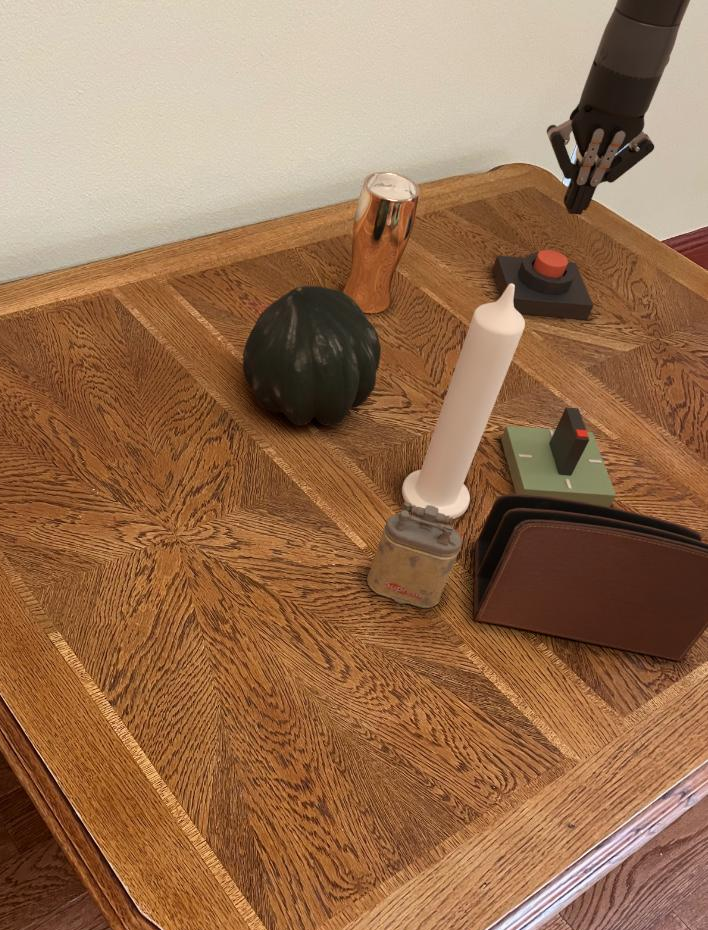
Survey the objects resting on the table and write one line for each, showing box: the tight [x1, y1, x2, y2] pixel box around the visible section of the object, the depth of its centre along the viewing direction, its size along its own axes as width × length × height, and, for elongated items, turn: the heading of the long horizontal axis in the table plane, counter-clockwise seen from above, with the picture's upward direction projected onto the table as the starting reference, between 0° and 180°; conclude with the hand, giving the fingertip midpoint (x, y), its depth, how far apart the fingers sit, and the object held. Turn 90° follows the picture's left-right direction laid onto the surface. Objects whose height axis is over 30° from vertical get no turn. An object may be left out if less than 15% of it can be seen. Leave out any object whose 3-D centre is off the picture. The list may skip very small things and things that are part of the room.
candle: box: [401, 283, 526, 520], centre depth 88 cm, size 7×7×25 cm
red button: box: [533, 249, 569, 278], centre depth 122 cm, size 4×4×2 cm
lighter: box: [366, 501, 463, 609], centre depth 85 cm, size 7×4×10 cm, turn 73°
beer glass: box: [342, 171, 421, 314], centre depth 114 cm, size 7×7×15 cm
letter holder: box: [473, 493, 708, 662], centre depth 85 cm, size 10×20×14 cm, turn 81°
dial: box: [549, 406, 589, 475], centre depth 99 cm, size 5×1×5 cm, turn 1°
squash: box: [242, 285, 382, 426], centre depth 101 cm, size 14×15×15 cm
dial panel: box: [500, 425, 617, 507], centre depth 102 cm, size 10×10×2 cm
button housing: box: [491, 252, 594, 321], centre depth 124 cm, size 11×10×4 cm
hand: (572, 210), depth 116 cm, fingers closed
